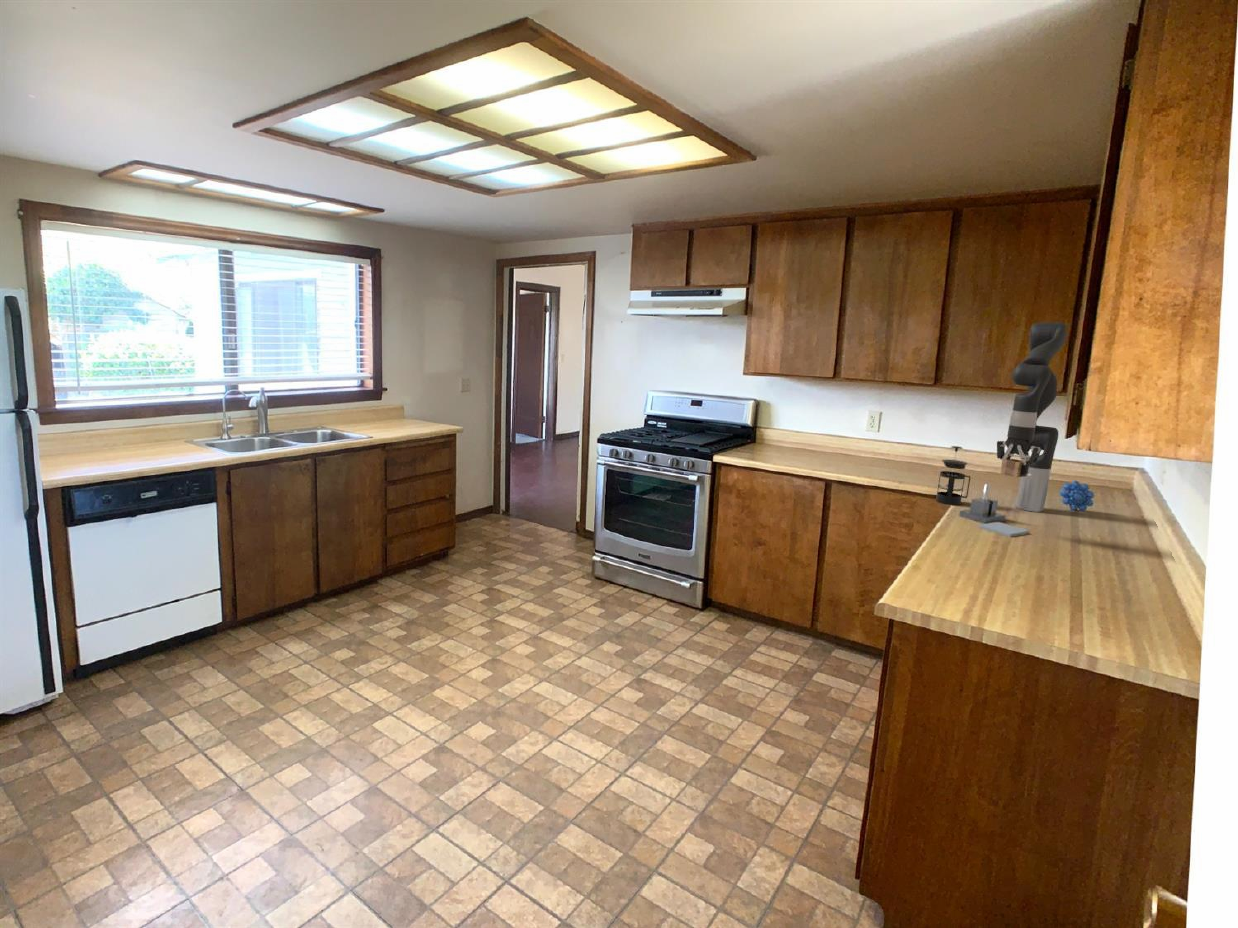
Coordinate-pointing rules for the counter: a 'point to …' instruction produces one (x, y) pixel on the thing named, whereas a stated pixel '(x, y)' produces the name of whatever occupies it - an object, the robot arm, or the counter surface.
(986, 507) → the grey block-shaped fixture
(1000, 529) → the mat
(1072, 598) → the counter surface
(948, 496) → the french press
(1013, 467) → the collar
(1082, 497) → the grapes
